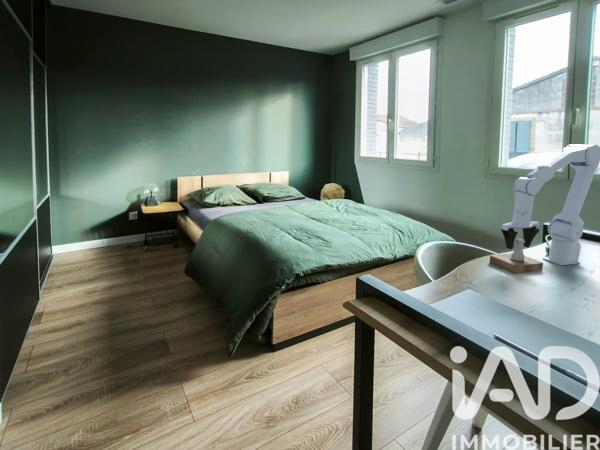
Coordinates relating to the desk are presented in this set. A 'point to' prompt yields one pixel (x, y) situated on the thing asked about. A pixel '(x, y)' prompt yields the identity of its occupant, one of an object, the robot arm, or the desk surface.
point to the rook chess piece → (518, 250)
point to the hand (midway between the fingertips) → (517, 247)
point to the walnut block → (516, 264)
